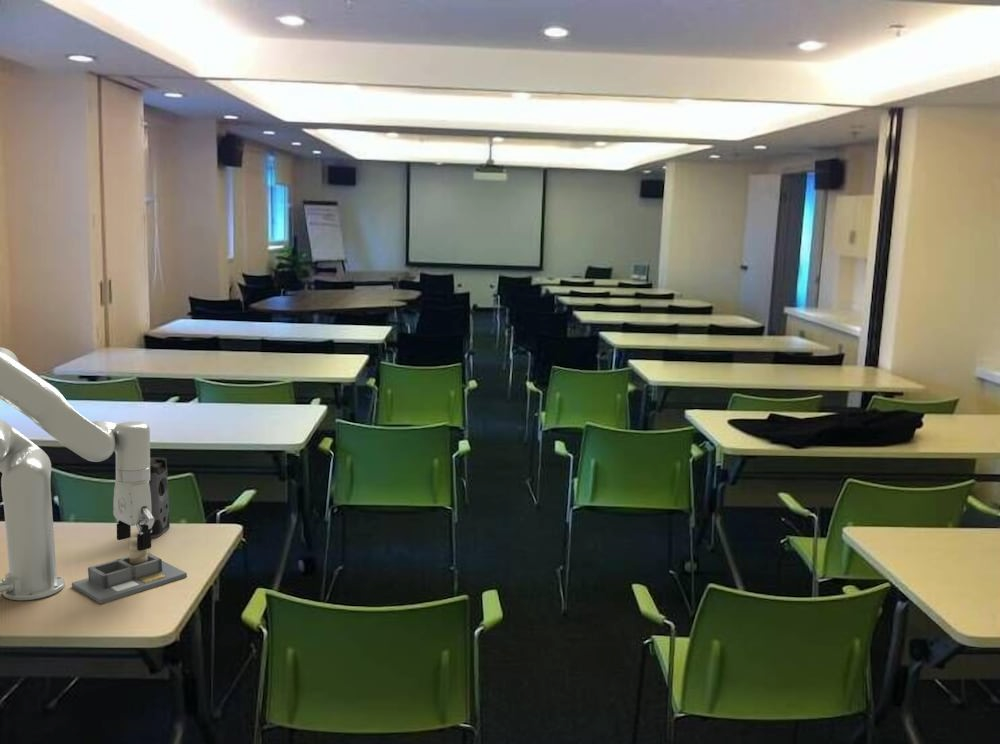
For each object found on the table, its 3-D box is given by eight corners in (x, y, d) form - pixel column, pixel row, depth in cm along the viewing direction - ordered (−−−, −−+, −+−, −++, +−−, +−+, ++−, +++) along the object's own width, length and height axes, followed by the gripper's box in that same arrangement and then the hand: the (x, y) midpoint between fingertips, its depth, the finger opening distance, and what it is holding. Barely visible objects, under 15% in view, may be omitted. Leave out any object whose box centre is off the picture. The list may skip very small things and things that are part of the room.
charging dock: (100, 604, 196) (99, 587, 195) (71, 586, 204) (70, 570, 204) (186, 576, 211) (186, 561, 211) (156, 561, 220) (156, 546, 220)
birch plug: (135, 576, 209) (133, 543, 208) (127, 571, 211) (125, 539, 210) (151, 571, 212) (149, 539, 211) (143, 566, 214) (141, 535, 213)
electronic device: (158, 538, 237) (154, 466, 233) (136, 537, 237) (132, 465, 233) (171, 526, 246) (168, 457, 243) (150, 526, 246) (147, 456, 243)
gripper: (100, 469, 210) (101, 538, 213) (136, 485, 199) (136, 557, 202) (130, 464, 216) (131, 531, 218) (167, 479, 205) (167, 549, 207)
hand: (133, 543), depth 210 cm, fingers open, 9 cm apart
